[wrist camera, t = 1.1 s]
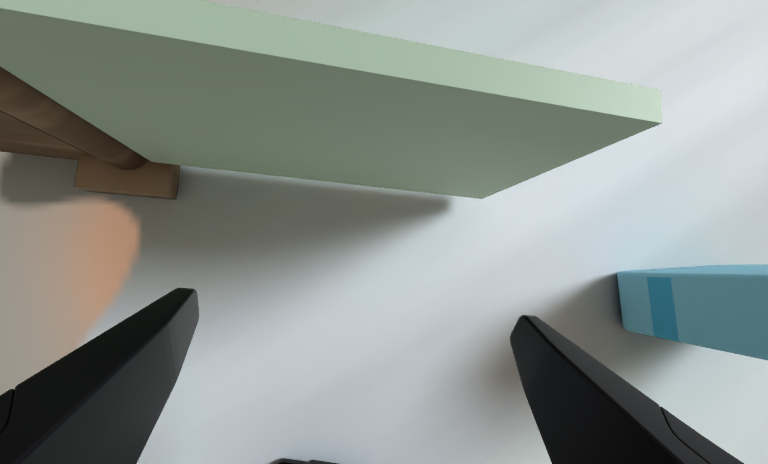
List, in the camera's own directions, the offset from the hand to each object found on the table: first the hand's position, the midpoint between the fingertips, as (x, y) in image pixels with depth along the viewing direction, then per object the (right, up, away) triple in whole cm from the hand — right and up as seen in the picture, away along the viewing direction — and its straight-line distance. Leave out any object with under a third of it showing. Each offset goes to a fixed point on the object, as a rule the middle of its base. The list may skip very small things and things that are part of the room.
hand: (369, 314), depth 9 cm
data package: (+24, -3, +19) cm, 31 cm away
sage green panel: (-3, +7, +13) cm, 15 cm away
